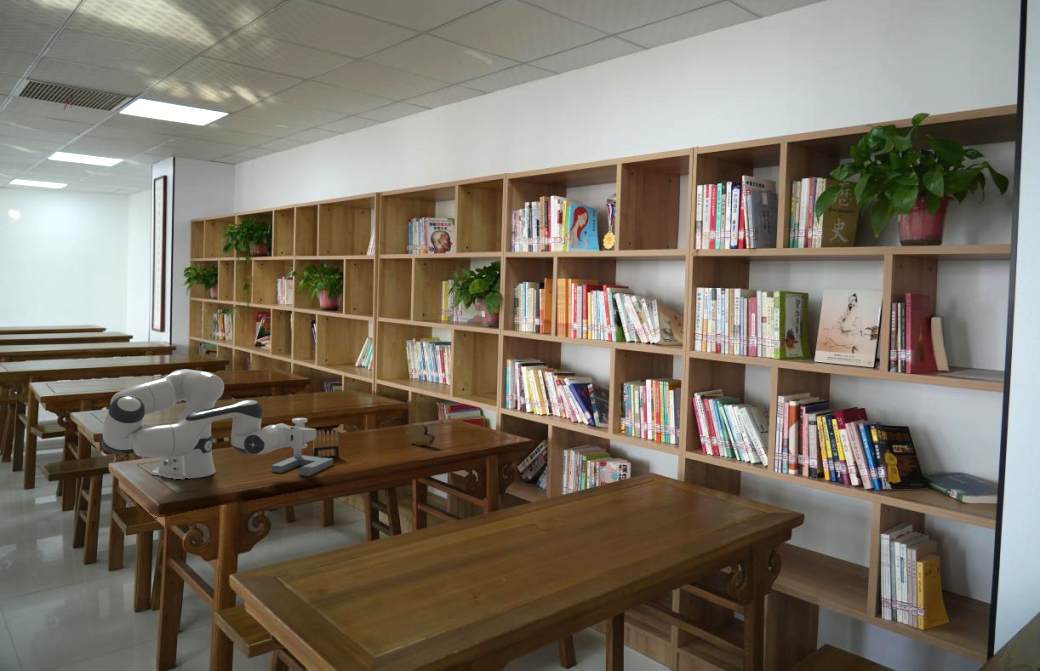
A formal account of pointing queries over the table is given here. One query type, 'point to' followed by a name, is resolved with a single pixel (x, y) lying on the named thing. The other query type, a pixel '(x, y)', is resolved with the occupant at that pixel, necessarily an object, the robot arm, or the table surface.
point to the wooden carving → (420, 435)
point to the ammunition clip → (326, 445)
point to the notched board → (303, 463)
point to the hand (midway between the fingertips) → (301, 428)
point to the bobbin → (301, 423)
